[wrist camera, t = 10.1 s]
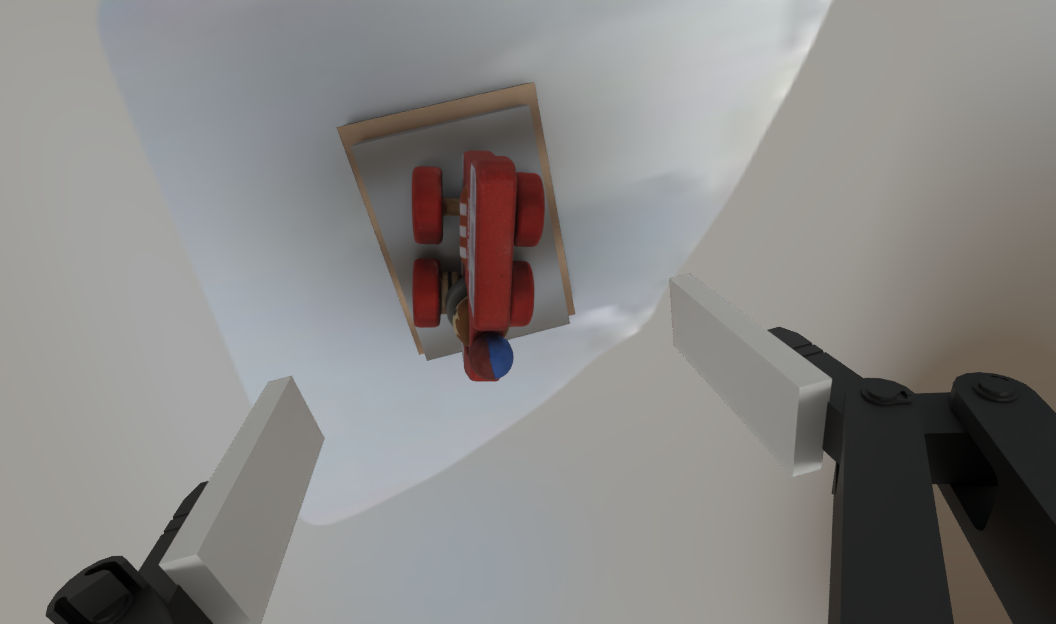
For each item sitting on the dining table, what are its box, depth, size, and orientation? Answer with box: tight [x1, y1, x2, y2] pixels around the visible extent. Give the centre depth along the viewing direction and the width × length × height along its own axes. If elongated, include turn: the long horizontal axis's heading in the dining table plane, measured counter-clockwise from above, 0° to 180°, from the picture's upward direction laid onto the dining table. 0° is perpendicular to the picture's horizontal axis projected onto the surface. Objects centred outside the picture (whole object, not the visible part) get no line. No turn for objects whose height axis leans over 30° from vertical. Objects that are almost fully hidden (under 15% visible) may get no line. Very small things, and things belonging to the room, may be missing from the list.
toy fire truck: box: [412, 151, 545, 381], centre depth 24 cm, size 7×12×10 cm, turn 175°
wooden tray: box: [337, 83, 575, 361], centre depth 31 cm, size 16×12×6 cm
